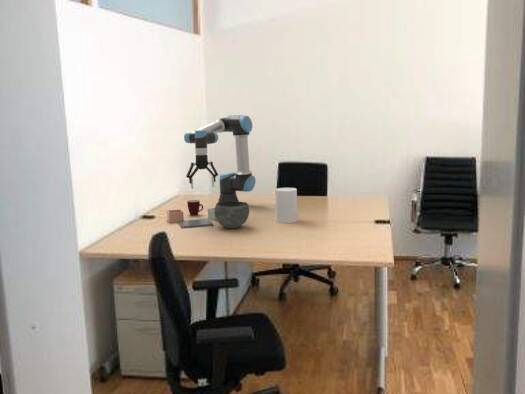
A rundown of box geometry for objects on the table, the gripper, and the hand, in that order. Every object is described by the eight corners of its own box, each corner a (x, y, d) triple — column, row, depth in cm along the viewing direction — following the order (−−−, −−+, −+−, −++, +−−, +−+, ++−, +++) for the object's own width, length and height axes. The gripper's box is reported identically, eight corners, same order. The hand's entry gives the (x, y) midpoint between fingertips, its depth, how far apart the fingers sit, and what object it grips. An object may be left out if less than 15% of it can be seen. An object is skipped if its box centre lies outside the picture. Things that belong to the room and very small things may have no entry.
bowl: (242, 232, 339) (241, 207, 336) (209, 230, 346) (208, 205, 344) (254, 224, 358) (254, 200, 356) (223, 222, 366) (222, 199, 363)
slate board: (207, 220, 373) (207, 218, 373) (213, 225, 358) (213, 223, 358) (176, 223, 367) (176, 221, 367) (181, 228, 352) (181, 226, 352)
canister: (283, 217, 376) (282, 187, 373) (301, 219, 369) (300, 188, 365) (271, 221, 366) (270, 190, 362) (289, 223, 358) (289, 191, 354)
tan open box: (181, 219, 377) (180, 209, 375) (183, 222, 368) (183, 211, 367) (167, 221, 374) (166, 210, 373) (169, 223, 365) (169, 213, 364)
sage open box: (218, 217, 381) (218, 207, 379) (225, 219, 374) (225, 208, 373) (208, 219, 376) (207, 208, 375) (215, 221, 370) (214, 210, 368)
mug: (200, 213, 395) (199, 199, 393) (205, 215, 388) (204, 200, 387) (186, 215, 390) (185, 200, 388) (191, 217, 383) (190, 202, 381)
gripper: (219, 152, 374) (220, 185, 377) (180, 155, 366) (182, 188, 369) (222, 153, 367) (223, 187, 370) (183, 156, 359) (184, 190, 362)
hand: (202, 187), depth 370 cm, fingers open, 13 cm apart
